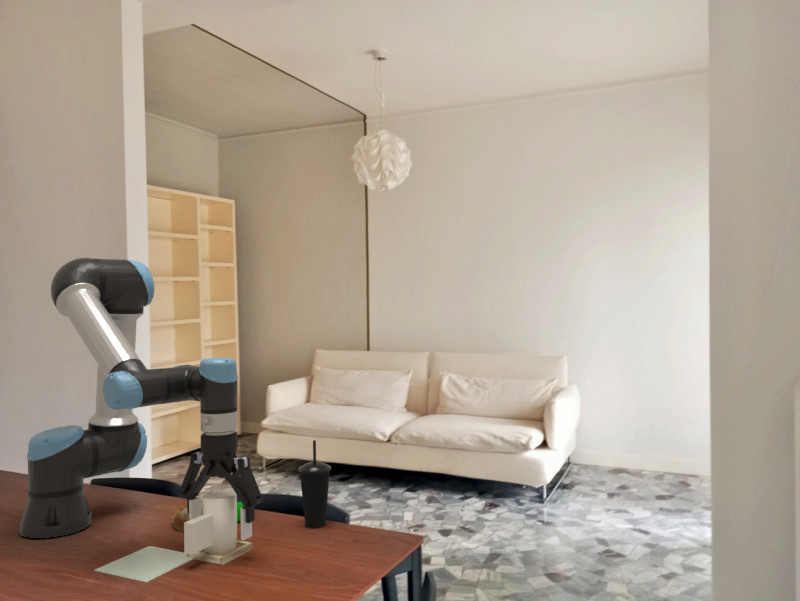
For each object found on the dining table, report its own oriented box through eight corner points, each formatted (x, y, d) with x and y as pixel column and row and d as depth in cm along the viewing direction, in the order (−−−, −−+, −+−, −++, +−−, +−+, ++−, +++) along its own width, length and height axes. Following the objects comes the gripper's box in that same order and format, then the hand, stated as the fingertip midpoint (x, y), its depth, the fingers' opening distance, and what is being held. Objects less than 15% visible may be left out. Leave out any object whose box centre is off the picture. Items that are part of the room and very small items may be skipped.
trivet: (94, 573, 126) (94, 569, 126) (149, 548, 139) (149, 545, 139) (146, 585, 120) (146, 581, 120) (199, 558, 133) (199, 555, 133)
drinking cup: (325, 531, 148) (324, 444, 149) (294, 529, 150) (293, 443, 150) (335, 520, 156) (334, 437, 156) (305, 518, 157) (304, 436, 158)
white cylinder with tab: (218, 545, 139) (218, 489, 139) (244, 549, 136) (243, 492, 136) (175, 566, 128) (174, 506, 128) (201, 572, 125) (201, 510, 125)
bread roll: (186, 551, 147) (196, 522, 145) (160, 525, 152) (169, 496, 150) (219, 538, 156) (229, 510, 154) (193, 513, 161) (202, 486, 159)
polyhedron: (227, 521, 156) (227, 502, 156) (245, 517, 160) (245, 497, 160) (236, 526, 152) (236, 506, 153) (255, 522, 156) (255, 502, 156)
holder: (187, 560, 132) (187, 551, 132) (218, 544, 141) (218, 536, 141) (223, 567, 128) (223, 558, 128) (253, 550, 137) (252, 542, 137)
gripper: (161, 431, 137) (162, 531, 136) (256, 439, 126) (257, 548, 126) (186, 425, 144) (187, 520, 143) (279, 432, 133) (280, 535, 133)
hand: (220, 533), depth 135 cm, fingers open, 13 cm apart
